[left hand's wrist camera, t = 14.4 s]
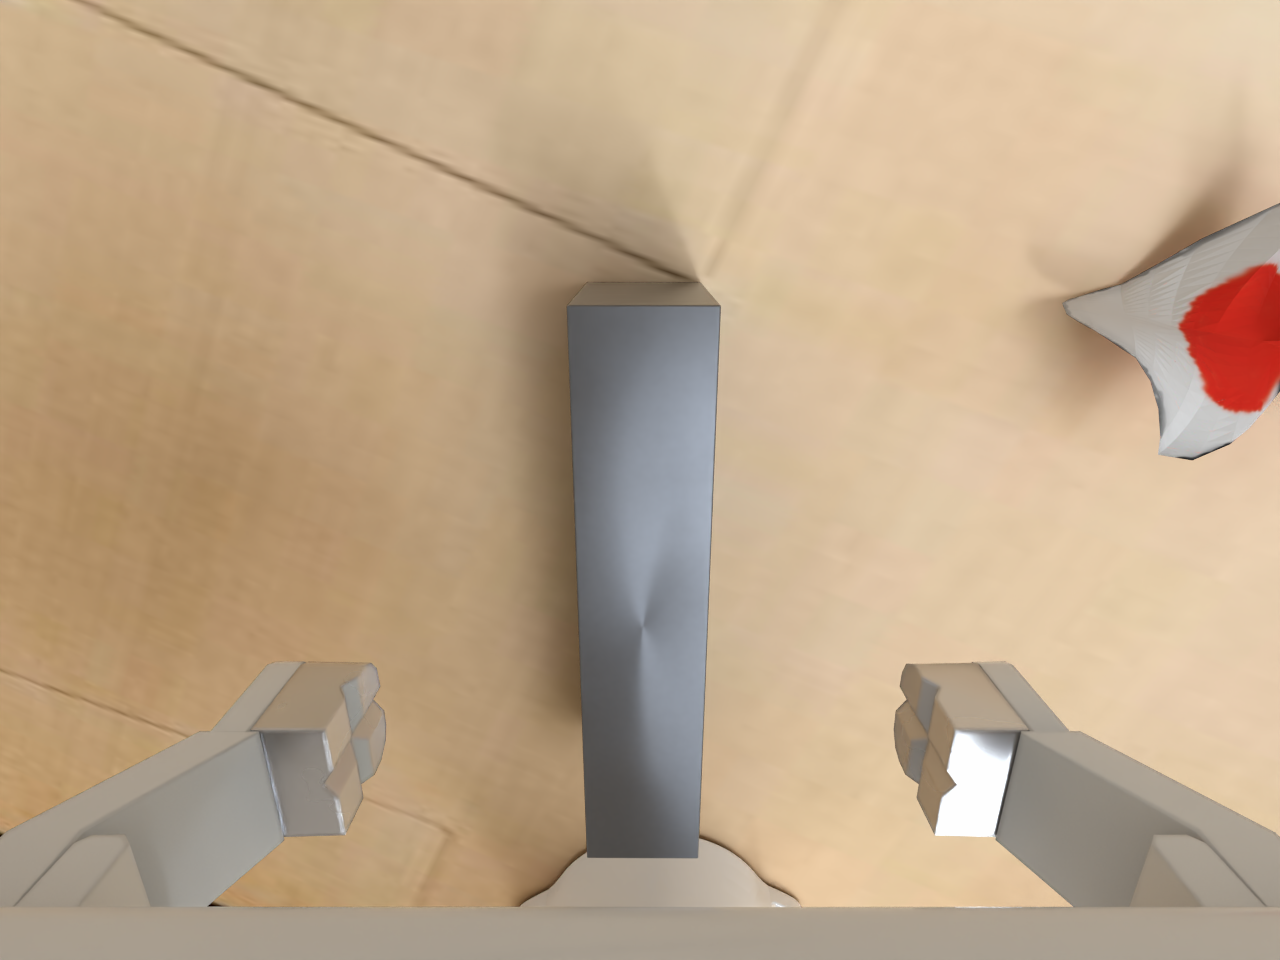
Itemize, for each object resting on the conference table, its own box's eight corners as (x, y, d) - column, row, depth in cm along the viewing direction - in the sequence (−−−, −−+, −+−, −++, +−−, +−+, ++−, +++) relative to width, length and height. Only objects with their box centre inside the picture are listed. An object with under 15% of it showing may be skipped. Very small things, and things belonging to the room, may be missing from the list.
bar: (586, 282, 32) (566, 305, 24) (700, 282, 32) (720, 305, 24) (598, 728, 41) (587, 858, 33) (687, 729, 41) (698, 859, 33)
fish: (1300, 578, 32) (1527, 570, 22) (983, 404, 36) (1057, 333, 26) (1425, 384, 32) (1704, 293, 22) (1096, 233, 36) (1212, 100, 26)
